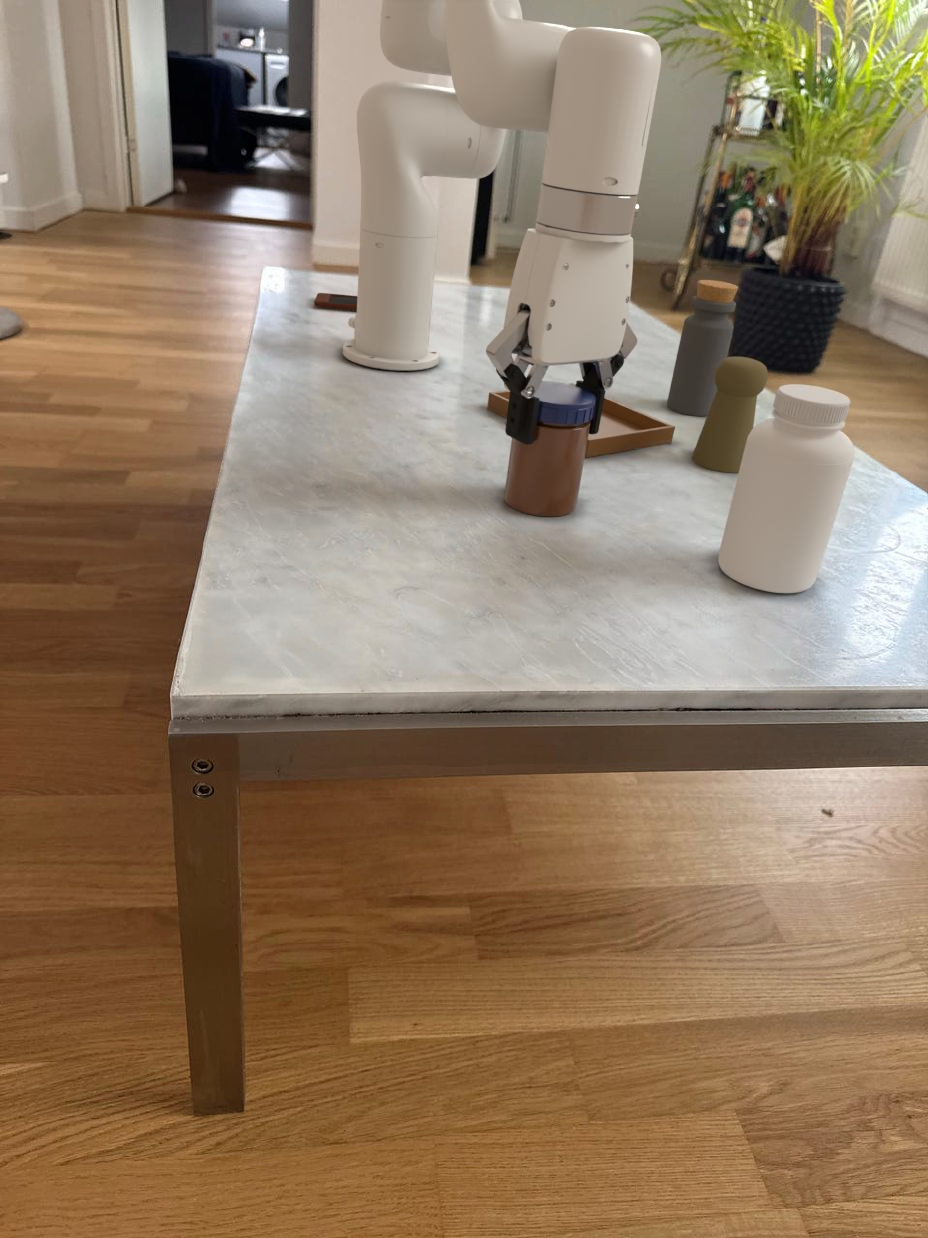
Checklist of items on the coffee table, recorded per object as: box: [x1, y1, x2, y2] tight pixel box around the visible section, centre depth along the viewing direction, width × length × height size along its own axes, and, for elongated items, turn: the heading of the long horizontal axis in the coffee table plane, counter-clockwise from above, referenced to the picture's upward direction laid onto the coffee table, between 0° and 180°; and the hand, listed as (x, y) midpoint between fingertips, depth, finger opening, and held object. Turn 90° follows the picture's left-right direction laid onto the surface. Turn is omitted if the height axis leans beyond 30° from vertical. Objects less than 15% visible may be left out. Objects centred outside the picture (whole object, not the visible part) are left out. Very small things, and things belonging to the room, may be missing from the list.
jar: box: [503, 421, 591, 518], centre depth 84 cm, size 7×7×9 cm
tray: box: [486, 382, 676, 459], centre depth 106 cm, size 17×13×2 cm
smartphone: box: [313, 292, 357, 312], centre depth 148 cm, size 7×1×15 cm
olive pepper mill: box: [691, 356, 769, 474], centre depth 98 cm, size 6×6×11 cm
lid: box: [534, 380, 596, 425], centre depth 81 cm, size 7×7×2 cm
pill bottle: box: [717, 383, 855, 594], centre depth 74 cm, size 8×8×15 cm
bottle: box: [666, 279, 739, 417], centre depth 114 cm, size 6×6×15 cm
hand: (552, 432), depth 82 cm, fingers closed on lid, 6 cm apart
